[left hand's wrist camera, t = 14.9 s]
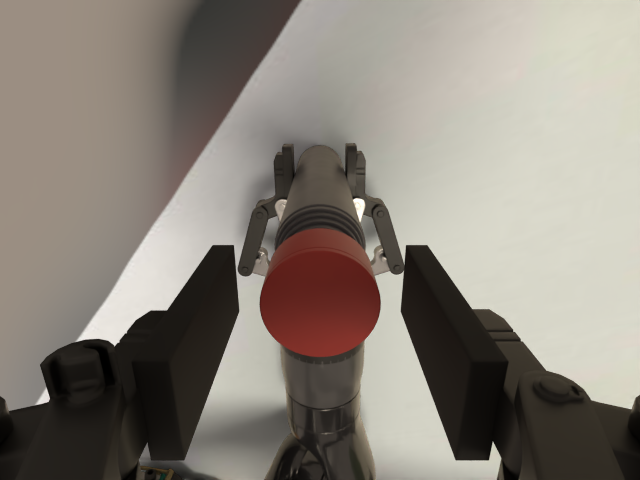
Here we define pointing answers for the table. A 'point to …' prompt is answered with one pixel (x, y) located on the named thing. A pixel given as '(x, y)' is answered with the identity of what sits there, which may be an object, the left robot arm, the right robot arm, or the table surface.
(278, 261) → the cap
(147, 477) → the spray gun
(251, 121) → the table surface
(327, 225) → the bottle
